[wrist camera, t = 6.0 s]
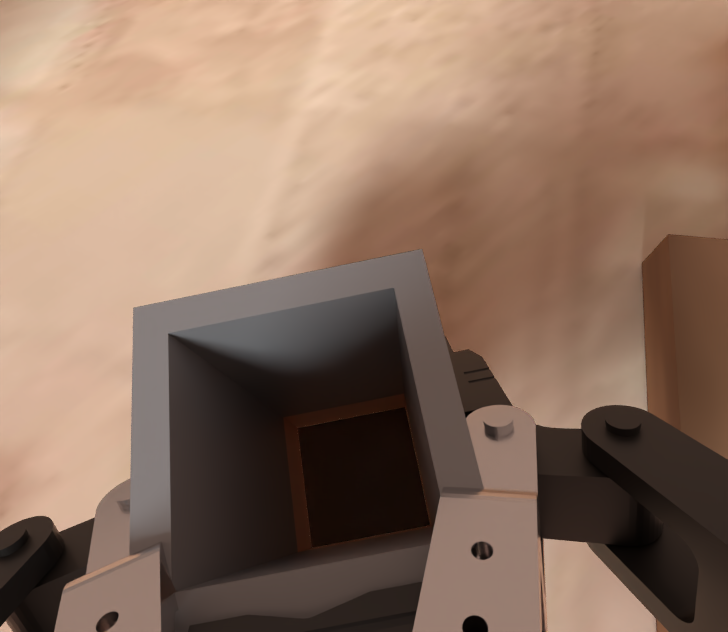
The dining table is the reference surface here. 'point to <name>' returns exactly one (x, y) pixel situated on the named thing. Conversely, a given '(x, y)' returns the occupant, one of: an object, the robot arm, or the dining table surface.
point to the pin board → (688, 338)
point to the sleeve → (284, 432)
